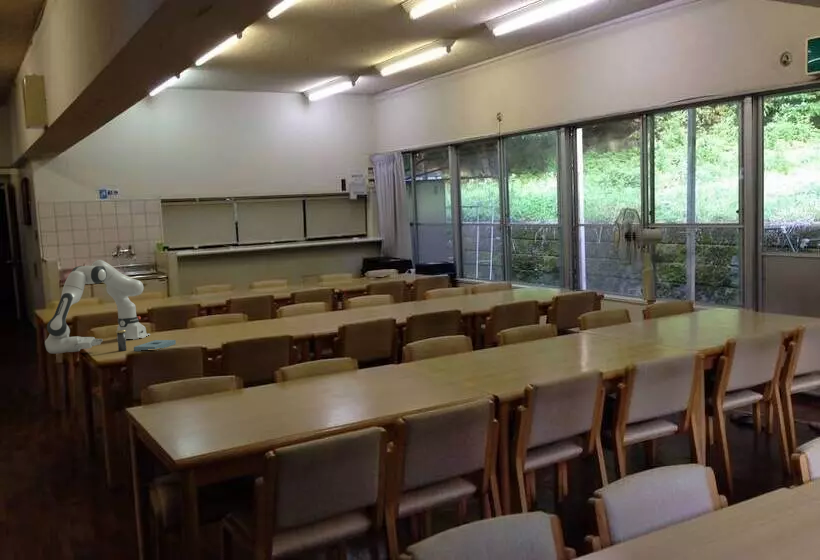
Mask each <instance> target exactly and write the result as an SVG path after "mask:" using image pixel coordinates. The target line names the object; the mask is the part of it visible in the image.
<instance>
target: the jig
mask: <svg viewBox="0 0 820 560" xmlns="http://www.w3.org/2000/svg"><path fill="white" fill-rule="evenodd" d="M176 342H177V341H176V339H158V340H157V339H155V340H151V341H148V342H145V343H142V344H141V343H140V344H139V345H136V346H133V352H142V351H141V350H148V349H157V348H163V349H165V348H168V347H172V346H173V345H174V346H175V345H176ZM164 347H165V348H164Z"/></svg>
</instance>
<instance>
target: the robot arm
mask: <svg viewBox="0 0 820 560" xmlns="http://www.w3.org/2000/svg"><path fill="white" fill-rule="evenodd" d="M101 283H103V284H105V285H106V287H105V291H106V293H107V294H108V295H109V296H110V297H111V298H112V299H113V300H114V303H115V305H116V309H117V316H118V318H117V324H118V325H117V330H126V332H125V339H133V340H140V339H139V338H142V339H144V338H147V337H149V336H151V333H147V328H146V326H144V325H143V324H142V323H141V322H139V320H141V318H142V317H141V316H140V315H139V316H137V308H136V307H137V306H136V304H135V303H134V302H132V301H131V299H130V298H129V297H136V296H140V295H142V294H143V292H144V289H145V288H144V283H143V282H142V281H141V280H138V279H135V278H133V277H130V276H129V275H127V274H124V273H122V272H120V271H119V270H118V269H116V268H115V267H114V266H113V265H111V264H109V263H108V262H106V261H105V260H104V259H103V260H102V259H96V260H95V261H93V262H92V264H91V265H80V266H76V267H73V269H72V270H71V272H69V273H68V275H67V277H66V280H65V282H64V285H63V288H62V290H61V296H60V299H59V302H58V304H57V306H56V310H55V312H54V315H53V316H52V317H51V319H50V320H49V321H48V323H47V324H46V330H47V332H48V333H49V335H48V337H47V338H46V339H45V341H44V347H45V350H46V352H48V353H49V354H63V353H64V354H65V353H75V352H77V353H78V352H80V351H81V350H82V349H92V347H95V346H100V345H101V343H103V340H104V339H103V338H95V337H94V336H81V335H79V336H78V335H77V336H70V333H71V329H70V327H69V325H68V324H67V322H66V321H67V317H68V313H69V312H70V308H71V307H72V305H74V304H77V303H79V302H80V300H81V298H82V297H83V293H84V290H85V286H86V285H90V284H91V285H95V284H101ZM148 335H149V336H148ZM146 336H147V337H146ZM116 338H117V337H116ZM116 338H115V339H116Z"/></svg>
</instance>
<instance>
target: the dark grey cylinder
mask: <svg viewBox="0 0 820 560" xmlns="http://www.w3.org/2000/svg"><path fill="white" fill-rule="evenodd" d="M125 332H126V330H118V329H117V330H115V333H116V336H117V339H116V341H117V347H118V348H117V349H118V350H117V351H118V352H126V351H127V340H126V339H125Z"/></svg>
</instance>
